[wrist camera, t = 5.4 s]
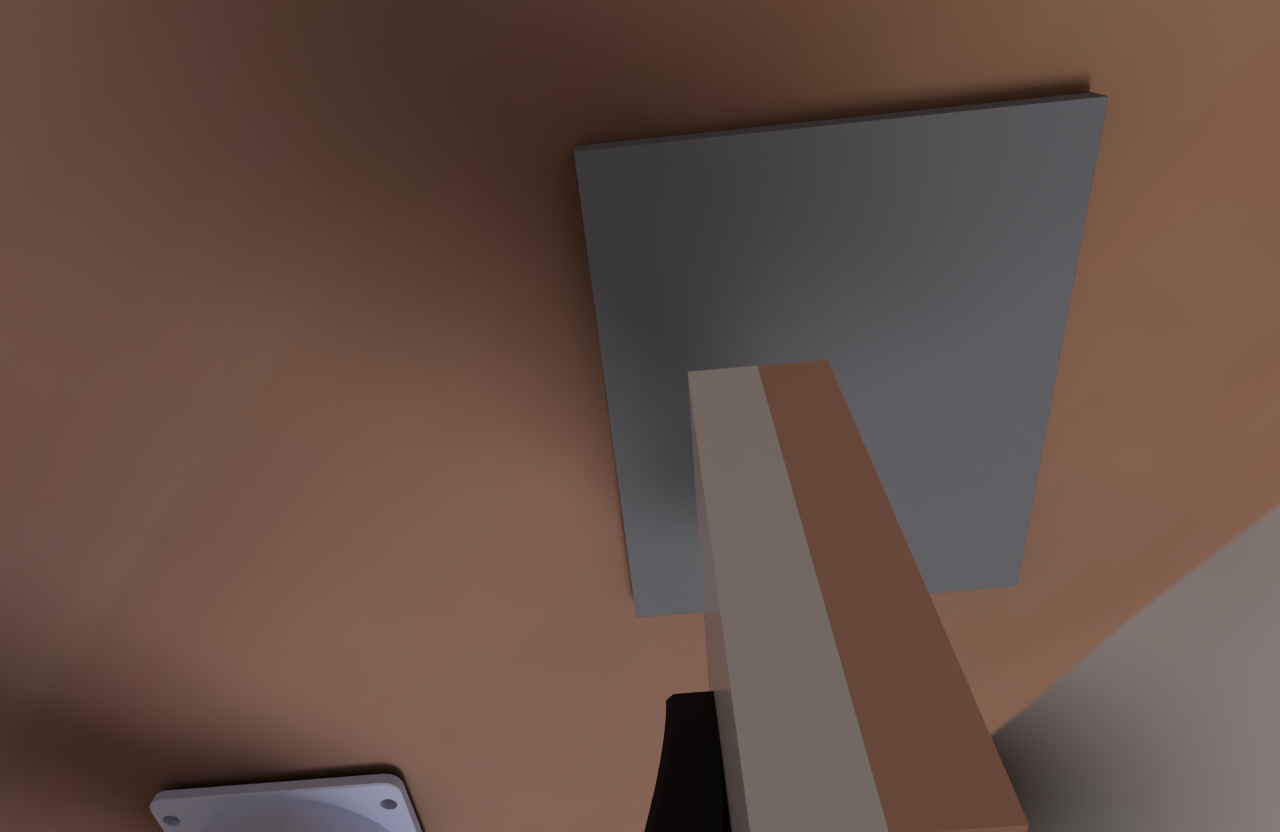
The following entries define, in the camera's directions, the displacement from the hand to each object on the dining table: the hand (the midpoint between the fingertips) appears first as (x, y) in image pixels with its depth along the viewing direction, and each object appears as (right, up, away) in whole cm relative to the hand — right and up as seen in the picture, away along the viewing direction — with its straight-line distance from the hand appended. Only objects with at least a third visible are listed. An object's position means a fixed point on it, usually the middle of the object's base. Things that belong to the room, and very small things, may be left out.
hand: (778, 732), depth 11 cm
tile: (0, +2, +1) cm, 2 cm away
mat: (+2, +5, +7) cm, 9 cm away
